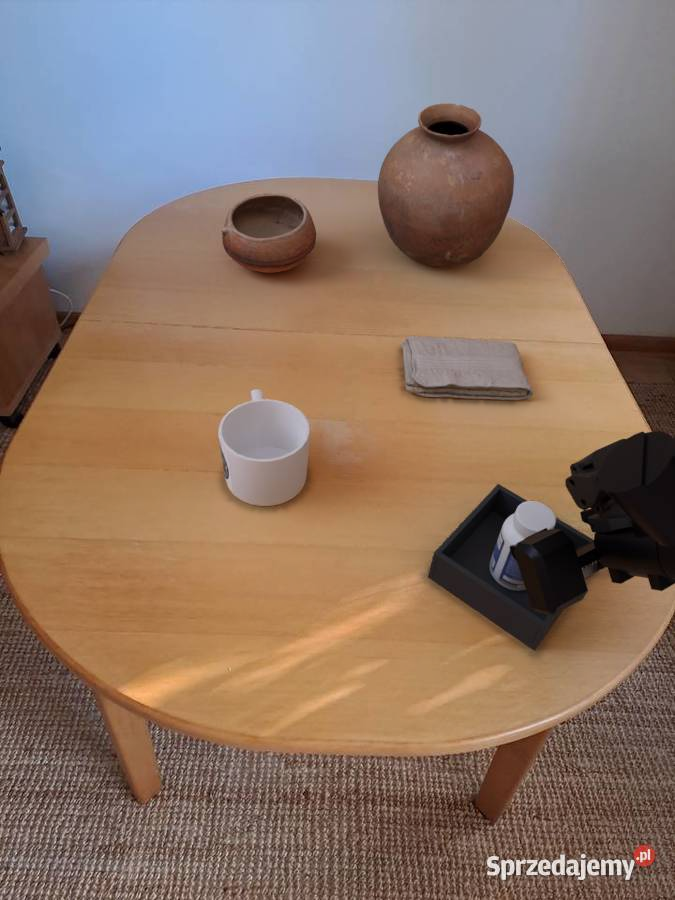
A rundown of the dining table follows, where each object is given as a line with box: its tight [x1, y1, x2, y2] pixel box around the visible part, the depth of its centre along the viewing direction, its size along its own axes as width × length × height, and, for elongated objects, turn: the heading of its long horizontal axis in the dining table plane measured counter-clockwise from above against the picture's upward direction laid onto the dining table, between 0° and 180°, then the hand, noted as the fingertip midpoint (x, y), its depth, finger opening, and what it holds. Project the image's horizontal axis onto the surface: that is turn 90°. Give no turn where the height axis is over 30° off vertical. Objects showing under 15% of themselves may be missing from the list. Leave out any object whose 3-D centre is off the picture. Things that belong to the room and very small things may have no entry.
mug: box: [217, 388, 311, 507], centre depth 80 cm, size 13×10×8 cm
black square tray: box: [427, 483, 594, 652], centre depth 72 cm, size 13×13×4 cm
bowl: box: [221, 192, 317, 273], centre depth 114 cm, size 16×16×10 cm
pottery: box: [377, 103, 515, 267], centre depth 114 cm, size 23×23×25 cm
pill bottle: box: [490, 500, 557, 591], centre depth 70 cm, size 5×5×10 cm
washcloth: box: [400, 335, 534, 401], centre depth 97 cm, size 12×18×3 cm, turn 91°
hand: (548, 533), depth 66 cm, fingers open, 9 cm apart
